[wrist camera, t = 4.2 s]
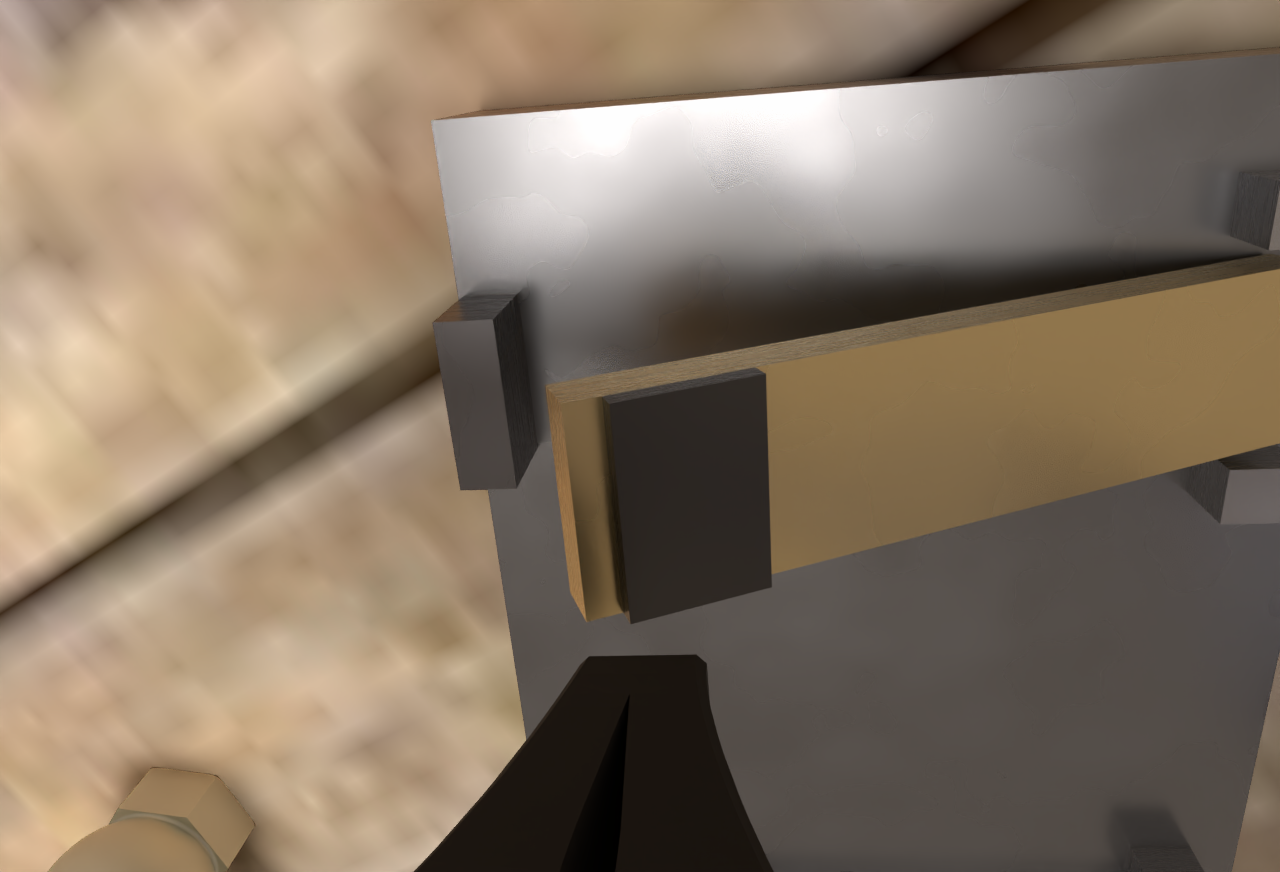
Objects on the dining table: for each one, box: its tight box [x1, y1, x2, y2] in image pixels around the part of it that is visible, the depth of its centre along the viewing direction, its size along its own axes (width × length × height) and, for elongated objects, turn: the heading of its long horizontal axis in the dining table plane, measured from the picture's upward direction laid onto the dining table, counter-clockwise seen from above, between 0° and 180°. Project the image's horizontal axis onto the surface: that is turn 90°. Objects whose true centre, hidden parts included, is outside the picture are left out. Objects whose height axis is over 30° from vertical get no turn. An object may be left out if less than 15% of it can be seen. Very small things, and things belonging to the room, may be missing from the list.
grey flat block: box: [431, 47, 1280, 872], centre depth 19 cm, size 15×23×5 cm, turn 4°
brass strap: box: [545, 254, 1280, 624], centre depth 13 cm, size 12×3×1 cm, turn 95°
